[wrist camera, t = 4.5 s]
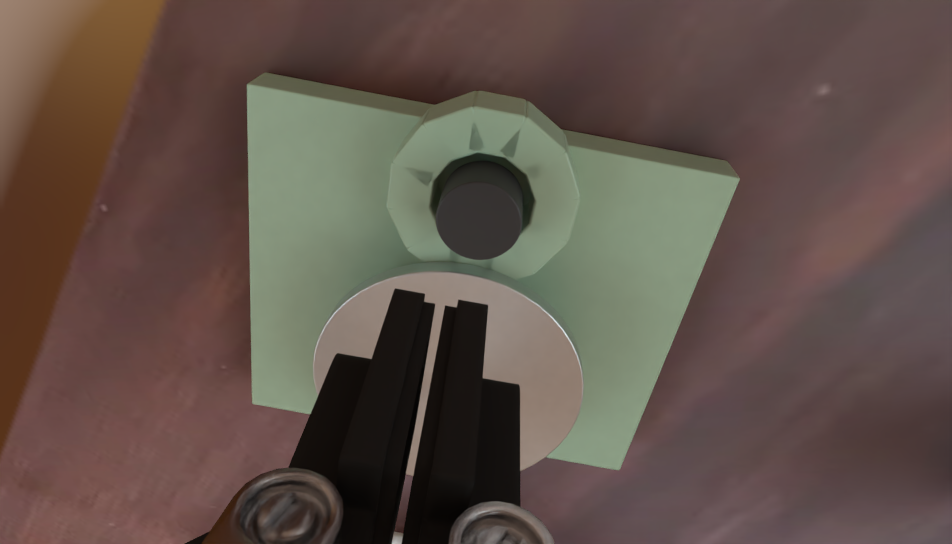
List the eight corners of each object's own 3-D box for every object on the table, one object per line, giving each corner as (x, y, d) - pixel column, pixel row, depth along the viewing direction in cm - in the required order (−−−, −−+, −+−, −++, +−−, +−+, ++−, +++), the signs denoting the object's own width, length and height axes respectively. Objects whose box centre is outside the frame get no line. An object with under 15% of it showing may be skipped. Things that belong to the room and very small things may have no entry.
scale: (264, 34, 18) (220, 57, 16) (741, 126, 18) (775, 163, 16) (265, 379, 25) (234, 435, 22) (615, 443, 25) (624, 506, 23)
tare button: (449, 152, 17) (441, 174, 15) (531, 168, 17) (530, 191, 16) (437, 226, 18) (429, 252, 17) (514, 240, 18) (512, 267, 17)
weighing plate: (323, 236, 18) (317, 246, 17) (615, 290, 18) (618, 302, 18) (313, 445, 22) (307, 458, 22) (548, 488, 22) (548, 502, 22)
